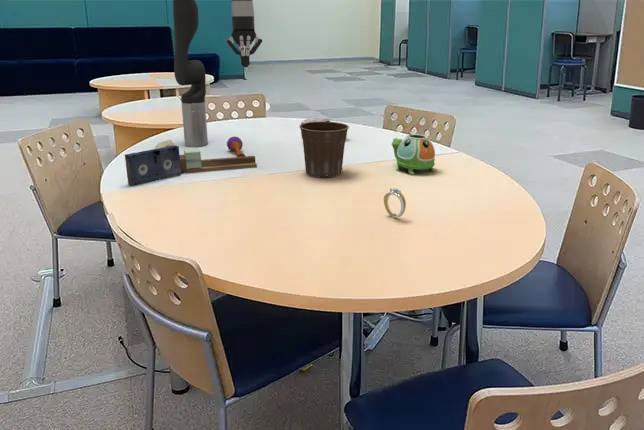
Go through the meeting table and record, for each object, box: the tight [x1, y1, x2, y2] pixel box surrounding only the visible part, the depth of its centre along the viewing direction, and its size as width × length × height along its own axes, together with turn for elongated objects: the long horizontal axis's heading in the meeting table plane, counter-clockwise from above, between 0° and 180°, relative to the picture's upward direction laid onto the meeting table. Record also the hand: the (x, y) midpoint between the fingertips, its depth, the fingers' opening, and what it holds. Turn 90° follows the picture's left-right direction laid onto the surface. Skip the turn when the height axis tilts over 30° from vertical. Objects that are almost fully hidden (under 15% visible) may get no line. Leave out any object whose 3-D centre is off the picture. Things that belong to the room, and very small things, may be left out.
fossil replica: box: [154, 139, 177, 149], centre depth 212 cm, size 12×8×10 cm
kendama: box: [226, 136, 246, 157], centre depth 224 cm, size 6×6×20 cm
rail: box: [179, 154, 258, 175], centre depth 206 cm, size 6×26×5 cm, turn 108°
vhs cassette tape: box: [124, 144, 182, 187], centre depth 192 cm, size 18×3×10 cm, turn 134°
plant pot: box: [299, 121, 350, 178], centre depth 198 cm, size 16×16×16 cm
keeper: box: [183, 147, 202, 169], centre depth 203 cm, size 6×5×6 cm
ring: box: [383, 188, 407, 219], centre depth 157 cm, size 7×3×8 cm, turn 34°
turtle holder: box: [391, 133, 436, 176], centre depth 203 cm, size 12×18×12 cm
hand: (245, 66), depth 209 cm, fingers closed
